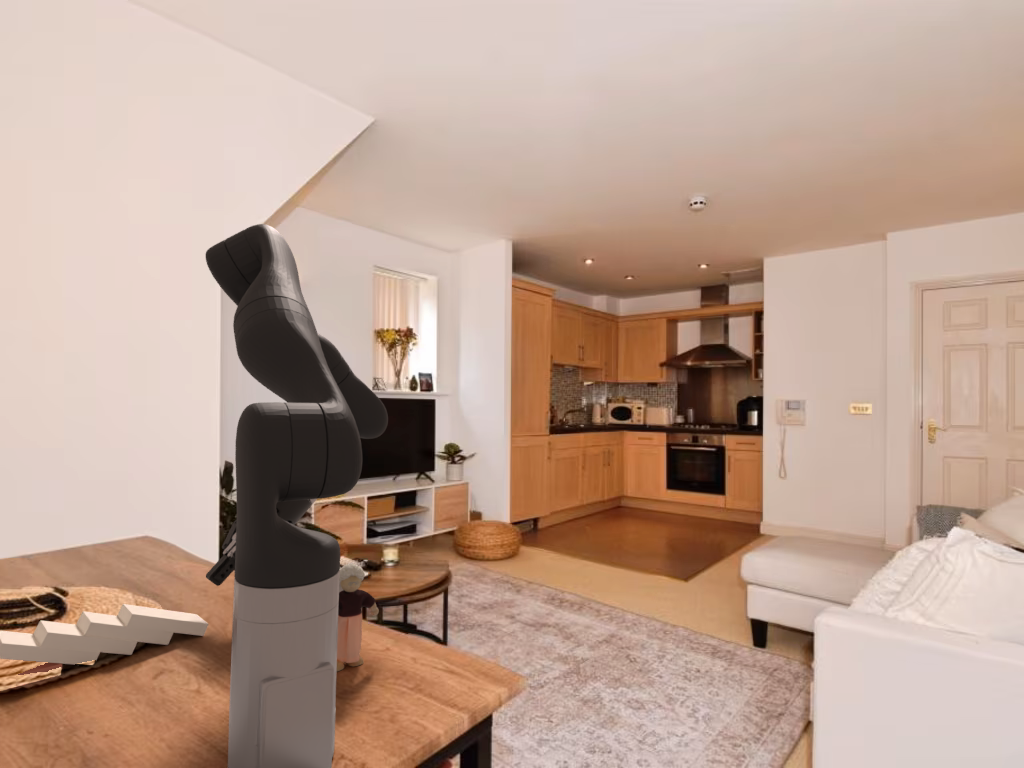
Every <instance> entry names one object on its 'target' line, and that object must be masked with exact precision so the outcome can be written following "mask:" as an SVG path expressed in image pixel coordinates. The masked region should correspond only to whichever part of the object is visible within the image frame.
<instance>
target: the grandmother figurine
mask: <svg viewBox="0 0 1024 768" xmlns="http://www.w3.org/2000/svg"><path fill="white" fill-rule="evenodd" d="M365 576H366V573H365V571H364V569H363V568H362V566H359V565H358V564H355V563H353V562H349V563H347V564H344V565H343V566H342V567H340V577H339V582H340V584H341V587H342V589H343V591H341V592H339V604H338V638H337V671H336V672H340V671H342V670H343V669H345V663H346V664H347V666H349V667H357V666H361V665H363V664H364V658H363V657H362V656H361V654H360V653H361V649H362V637H363V630H362V629H363V612H362V609H363V608H368V610H369V611H370V615H372V616H378V614H379V612H380V611H379V608H378V607H377V604H376V598H375V597H374V596H373V595H372V594H370V593H369V592H367V591H365V590H362V589H359V588H360V586H361V585H362V581H363V580H364V579H365Z"/></svg>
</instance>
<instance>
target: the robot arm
mask: <svg viewBox="0 0 1024 768" xmlns="http://www.w3.org/2000/svg"><path fill="white" fill-rule="evenodd" d="M289 245H290V244H288V241H287V240H286V239H285V237H284V236H283V234H281V233H280V232H279V231H278V230H277V229H276V228H274V227H273V226H271V225H269V224H265V223H258V224H255V225H250V226H249V227H246V228H245V229H242V230H240V231H239V232H237V233H235V234H233V235H231V236H229V237H227V238H225V239H223V240H221V241H219V242H217V243H216V244H214V245H212V246H211V247H209V248H208V249H207V250H206V251H205V262H206V265H207V267H208V270H209V271H210V273H211V275H212V277H213V279H214V280H215V282H216V283H217V284H218V285H219V287H220V288H221V289H222V291H223V292H224V294H226V296H227V297H229V299H230V300H232V303H234V304H235V305H236V310H235V312H234V316H233V325H232V326H233V334H234V335H233V336H234V341H235V348H236V353H237V356H238V359H239V361H240V363H241V365H242V366H243V367H244V369H245V370H246V371H247V373H248V374H249V375H250V376H251V377H253V379H255V380H256V381H257V382H258V383H260V384H261V385H262V386H264V387H265V388H266V389H267V390H269V391H271V392H272V393H273V394H275V395H276V396H277V397H279V398H281V399H282V400H284V401H285V402H280V401H279V402H255V403H251V404H249V405H247V406H246V407H245V408H244V409H243V410H242V412H241V414H240V416H239V420H238V422H237V427H236V432H235V433H236V436H235V485H236V486H235V489H236V519H235V520H234V521H233V522H232V525H231V527H230V529H229V532H228V533H227V535H226V536H225V537H226V538H225V539H224V541H223V543H222V546H221V548H222V549H223V552H222V554H223V555H222V556H221V558H219V559H218V560H217V562H216V563H215V564H214V565H213V566H212V567H211V568H210V569H209V571H207V573H206V574H205V578H206V579H207V580H208V581H210V582H211V583H212V584H213V585H215V586H217V587H218V586H221V585H222V584H223V583H224V582H225V581H226V580H227V579H228V577H229V576H230V575H231V574H232V573H233V572H234V575H233V576H234V579H233V585H234V586H233V602H232V603H233V607H232V628H231V629H232V631H231V652H230V653H231V657H230V660H231V661H230V678H229V679H230V683H229V685H230V686H229V709H228V710H229V711H228V741H227V742H228V745H227V746H228V749H227V768H332V766H333V765H332V764H333V763H332V762H333V761H332V759H333V757H334V754H335V753H334V752H335V744H336V743H335V739H336V737H335V735H336V708H337V707H336V704H337V703H336V699H337V697H336V695H337V672H338V671H337V638H338V604H339V577H340V569H341V546H340V543H339V541H338V540H337V539H336V538H335V537H333V536H331V535H330V534H327V533H325V532H320V531H317V530H313V529H308V528H305V527H301V526H298V525H296V524H297V523H298V522H299V521H300V519H301V518H302V517H303V516H304V515H305V514H306V513H307V511H308V510H310V508H311V507H312V506H313V504H314V503H315V502H316V501H317V500H318V499H319V500H320V499H328V498H333V497H338V496H342V495H345V494H347V493H349V492H350V491H351V490H353V488H355V486H356V485H357V483H358V481H359V479H360V477H361V473H362V469H363V448H362V441H361V439H365V440H369V439H370V440H371V439H377V438H378V437H380V436H381V435H383V434H384V433H385V432H386V429H387V428H388V425H389V416H388V411H387V408H386V406H385V404H384V403H383V401H382V400H381V398H380V397H378V395H376V393H374V391H373V390H372V389H370V387H369V386H367V385H366V384H365V382H364V381H362V380H361V379H360V378H359V377H358V376H357V375H356V374H355V373H354V372H353V370H352V368H351V367H350V365H349V364H348V362H347V361H346V360H345V358H344V356H343V355H342V354H341V352H340V351H339V349H338V348H337V347H336V346H335V345H334V344H333V342H332V341H330V340H329V339H328V338H326V337H325V336H324V335H322V334H321V333H318V331H317V328H316V324H315V323H314V319H313V316H312V314H311V312H310V309H309V307H308V305H307V303H306V300H305V297H304V295H303V292H302V289H301V283H300V276H299V271H298V270H299V269H298V267H297V262H296V260H295V256H294V253H293V251H292V250H291V247H290V246H289Z"/></svg>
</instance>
